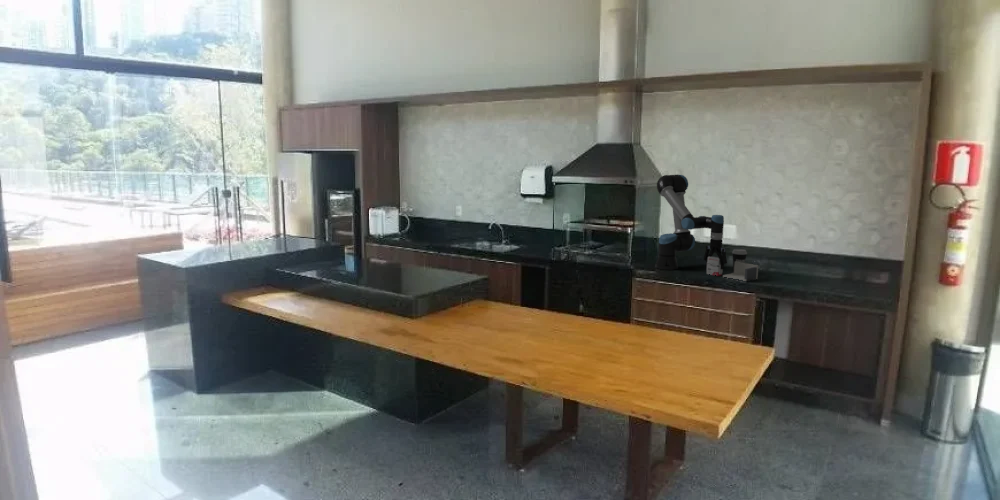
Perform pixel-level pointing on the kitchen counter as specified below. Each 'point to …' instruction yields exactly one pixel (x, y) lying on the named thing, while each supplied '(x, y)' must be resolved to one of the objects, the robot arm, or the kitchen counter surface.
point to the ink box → (713, 266)
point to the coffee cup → (739, 256)
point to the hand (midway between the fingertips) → (714, 272)
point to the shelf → (744, 271)
